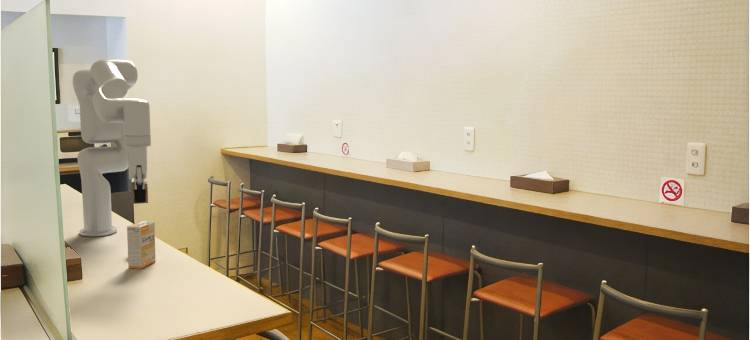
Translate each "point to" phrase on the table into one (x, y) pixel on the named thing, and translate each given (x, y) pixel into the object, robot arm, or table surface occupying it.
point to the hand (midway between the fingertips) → (139, 200)
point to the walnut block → (145, 191)
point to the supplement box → (141, 244)
